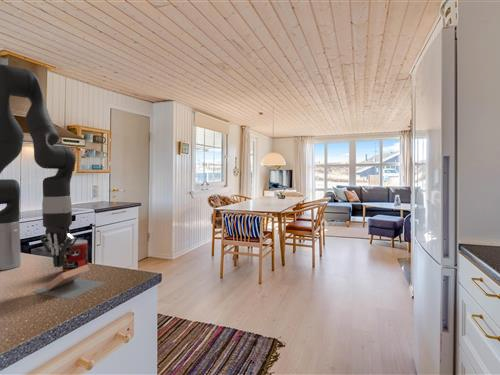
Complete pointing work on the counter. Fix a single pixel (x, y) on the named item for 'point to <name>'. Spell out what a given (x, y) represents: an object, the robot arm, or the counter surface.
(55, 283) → the block
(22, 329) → the counter surface
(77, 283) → the mat
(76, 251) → the canned food
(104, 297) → the counter surface
